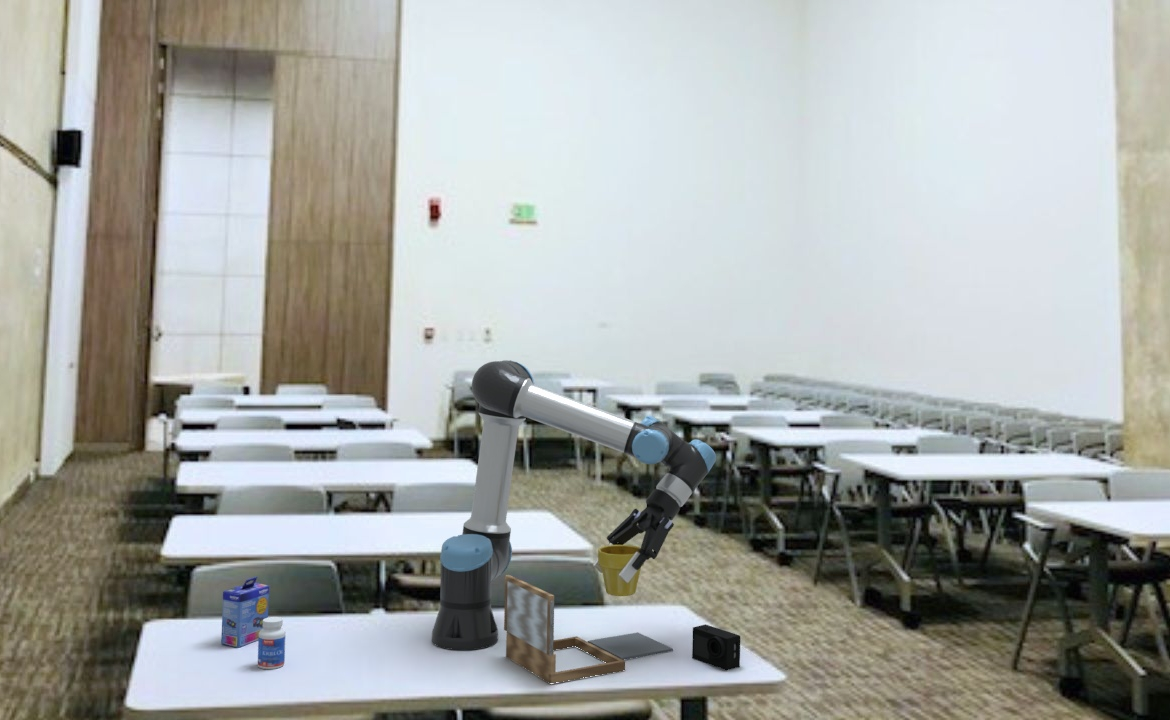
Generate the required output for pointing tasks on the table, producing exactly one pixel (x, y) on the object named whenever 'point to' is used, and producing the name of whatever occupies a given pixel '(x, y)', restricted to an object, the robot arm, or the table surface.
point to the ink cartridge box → (244, 613)
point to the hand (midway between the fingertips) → (609, 574)
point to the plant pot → (617, 569)
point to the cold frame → (544, 635)
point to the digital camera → (716, 647)
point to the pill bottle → (271, 644)
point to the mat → (630, 646)
